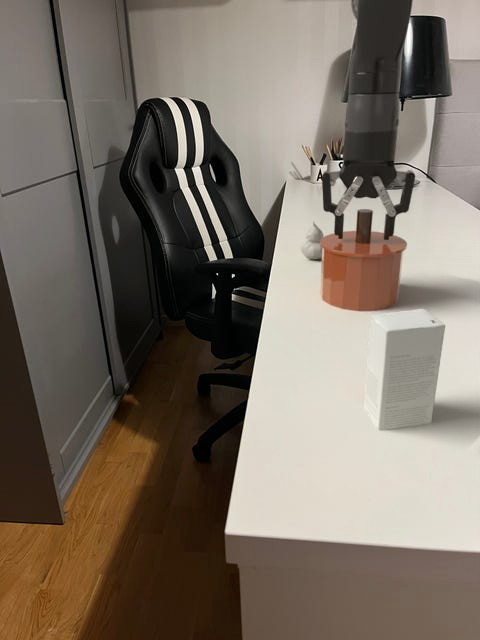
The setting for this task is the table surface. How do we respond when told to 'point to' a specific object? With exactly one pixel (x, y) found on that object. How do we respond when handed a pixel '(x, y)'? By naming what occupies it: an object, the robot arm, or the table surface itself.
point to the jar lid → (363, 240)
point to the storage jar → (360, 281)
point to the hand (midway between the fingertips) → (362, 237)
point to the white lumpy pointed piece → (313, 243)
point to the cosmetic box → (402, 368)
